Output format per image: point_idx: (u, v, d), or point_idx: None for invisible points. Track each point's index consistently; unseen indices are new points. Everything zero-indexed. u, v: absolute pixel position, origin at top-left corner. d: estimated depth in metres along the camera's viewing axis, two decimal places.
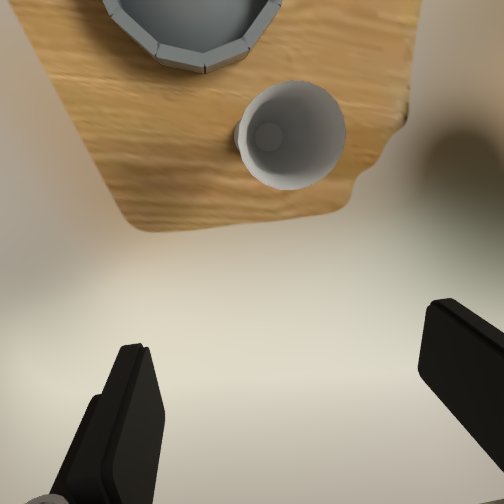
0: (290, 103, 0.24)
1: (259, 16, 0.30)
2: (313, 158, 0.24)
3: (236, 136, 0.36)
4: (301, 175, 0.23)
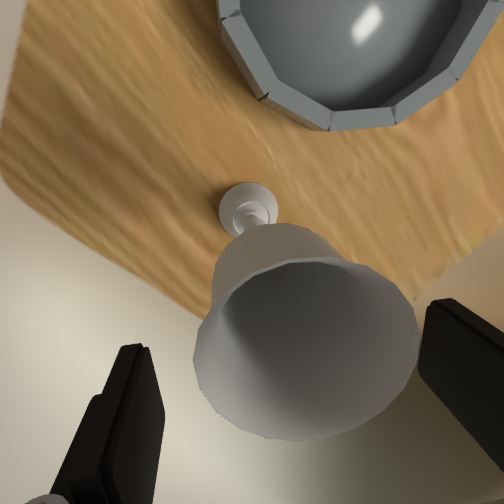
0: None
1: (368, 111, 0.21)
2: (301, 365, 0.13)
3: (229, 194, 0.25)
4: (268, 393, 0.12)
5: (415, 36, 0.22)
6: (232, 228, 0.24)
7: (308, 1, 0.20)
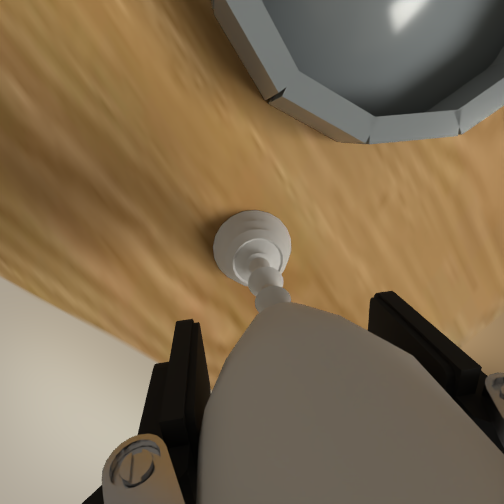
0: None
1: (423, 116, 0.15)
2: None
3: (227, 227, 0.19)
4: None
5: (482, 13, 0.16)
6: (231, 273, 0.18)
7: None
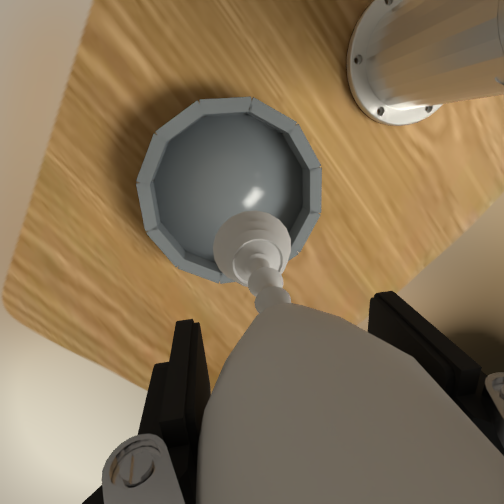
0: None
1: None
2: None
3: (227, 227, 0.19)
4: None
5: None
6: (231, 273, 0.18)
7: (204, 207, 0.33)
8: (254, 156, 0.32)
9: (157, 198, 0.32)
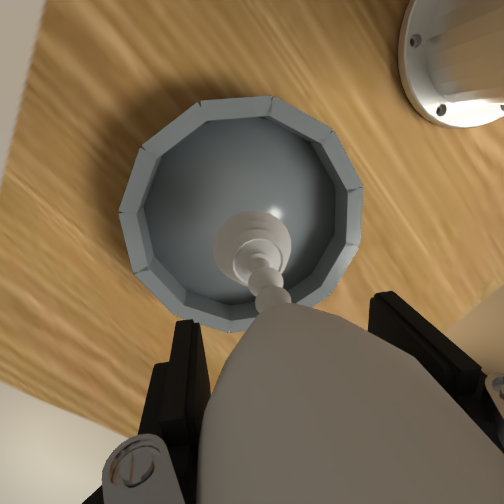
0: None
1: None
2: None
3: (227, 227, 0.18)
4: None
5: (300, 251, 0.27)
6: (231, 273, 0.18)
7: (209, 237, 0.26)
8: (273, 172, 0.24)
9: (149, 227, 0.25)
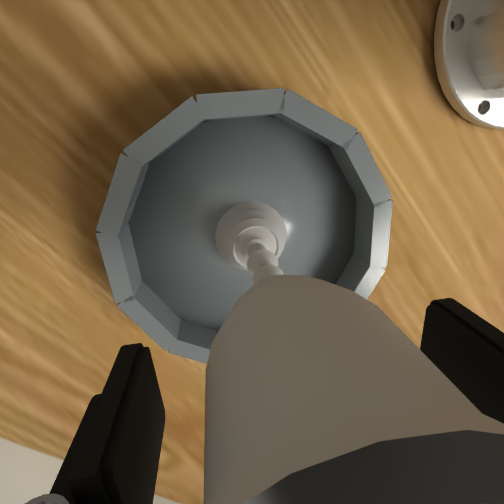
0: None
1: None
2: (342, 497, 0.09)
3: (228, 216, 0.20)
4: None
5: (314, 273, 0.23)
6: (232, 258, 0.20)
7: (208, 257, 0.22)
8: (284, 181, 0.20)
9: (135, 247, 0.21)
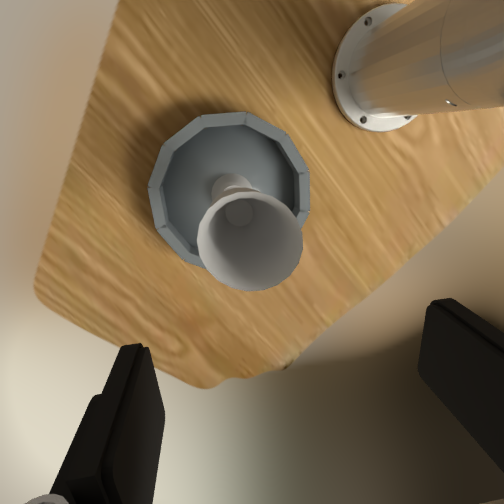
0: (273, 210, 0.25)
1: None
2: (254, 265, 0.24)
3: (219, 181, 0.36)
4: (234, 272, 0.22)
5: None
6: None
7: (207, 207, 0.37)
8: (250, 162, 0.36)
9: (165, 199, 0.36)
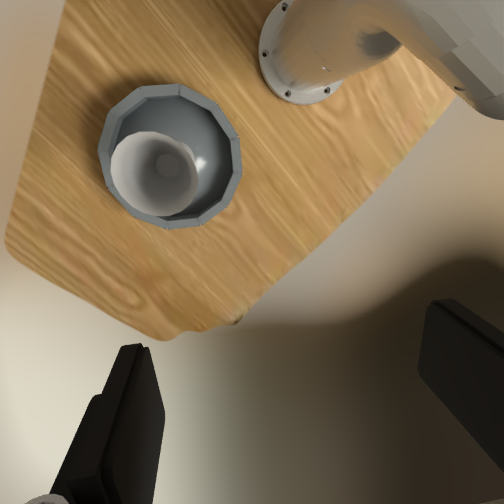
0: None
1: (185, 220, 0.43)
2: (170, 202, 0.30)
3: None
4: (148, 203, 0.28)
5: (211, 181, 0.44)
6: None
7: None
8: (190, 130, 0.41)
9: None
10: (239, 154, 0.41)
